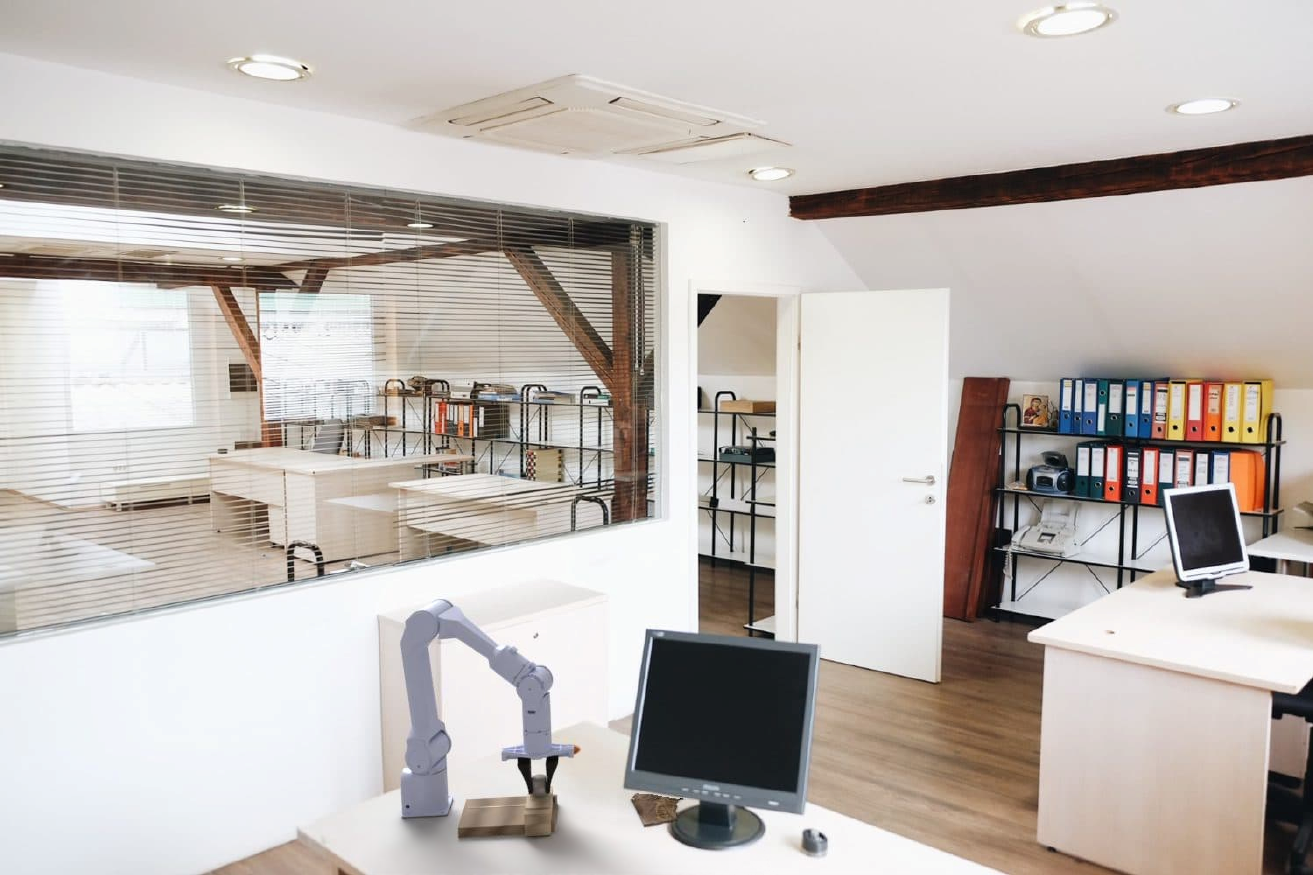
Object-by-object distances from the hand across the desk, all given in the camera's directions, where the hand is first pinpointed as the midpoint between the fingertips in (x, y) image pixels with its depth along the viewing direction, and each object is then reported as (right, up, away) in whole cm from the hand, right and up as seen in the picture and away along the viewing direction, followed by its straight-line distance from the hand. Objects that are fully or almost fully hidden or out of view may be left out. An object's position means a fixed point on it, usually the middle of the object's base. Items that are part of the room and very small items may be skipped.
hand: (539, 791), depth 194 cm
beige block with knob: (+1, -5, -2) cm, 5 cm away
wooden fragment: (+24, -5, +9) cm, 26 cm away
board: (-6, -6, 0) cm, 8 cm away
